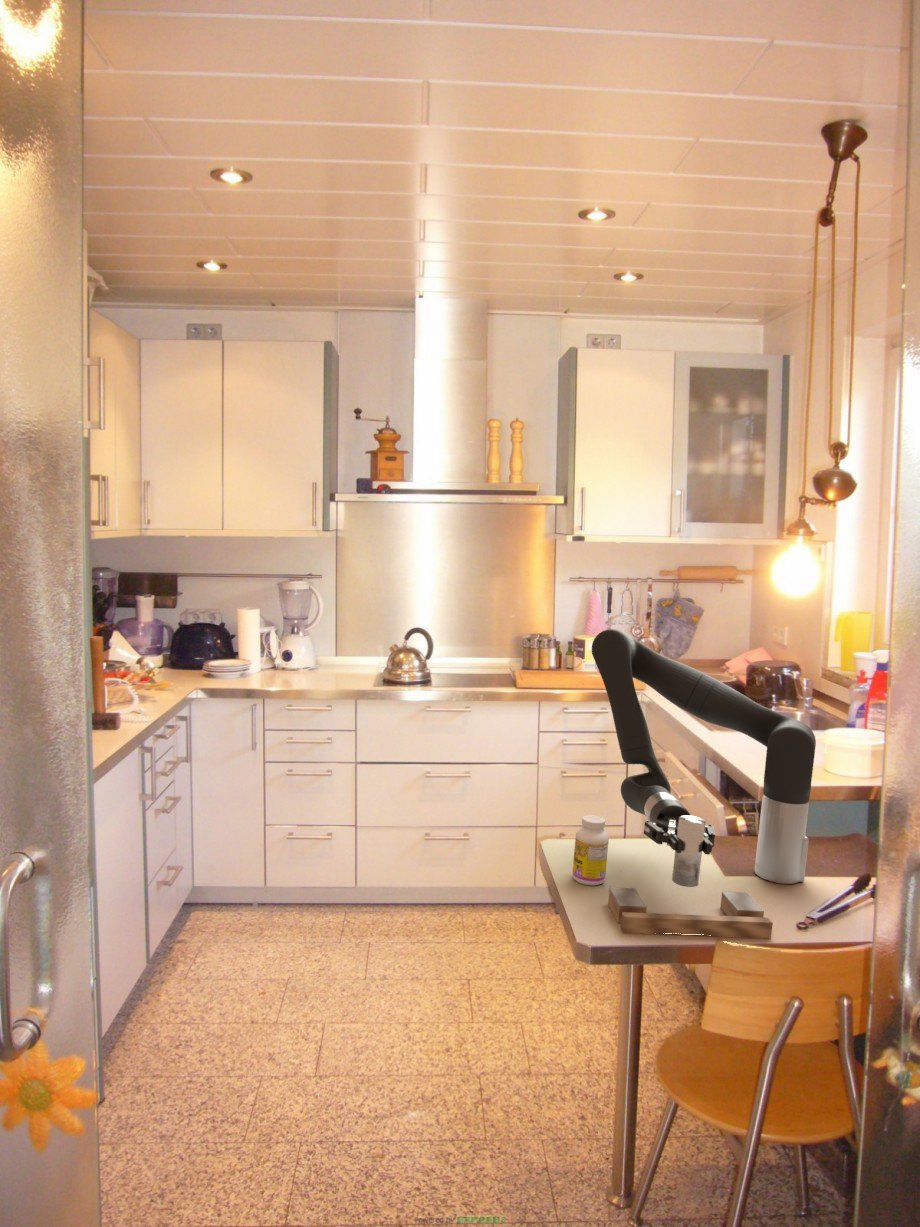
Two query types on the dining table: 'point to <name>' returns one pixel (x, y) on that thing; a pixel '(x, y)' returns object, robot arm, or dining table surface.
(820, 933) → the dining table surface
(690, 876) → the link pin
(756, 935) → the rail with metal-top blocks
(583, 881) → the supplement bottle
